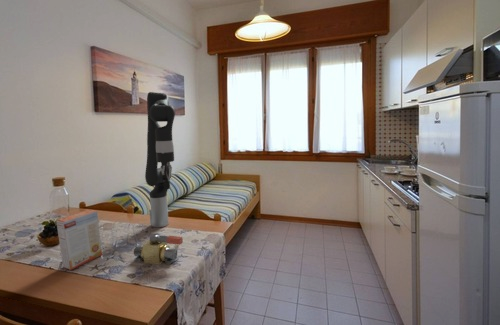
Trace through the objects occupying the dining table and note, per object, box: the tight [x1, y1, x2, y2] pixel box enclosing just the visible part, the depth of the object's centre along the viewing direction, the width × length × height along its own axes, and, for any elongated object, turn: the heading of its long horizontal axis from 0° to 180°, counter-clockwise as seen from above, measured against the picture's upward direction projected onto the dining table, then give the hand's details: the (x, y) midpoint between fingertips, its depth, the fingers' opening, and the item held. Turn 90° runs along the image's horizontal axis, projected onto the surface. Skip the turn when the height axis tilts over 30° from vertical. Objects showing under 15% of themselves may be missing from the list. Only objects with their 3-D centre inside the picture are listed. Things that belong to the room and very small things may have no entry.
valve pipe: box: [133, 239, 178, 265], centre depth 114 cm, size 18×7×8 cm, turn 80°
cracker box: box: [56, 209, 103, 271], centre depth 113 cm, size 14×6×21 cm, turn 153°
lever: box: [149, 233, 183, 246], centre depth 112 cm, size 14×4×2 cm, turn 76°
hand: (167, 188), depth 120 cm, fingers closed
